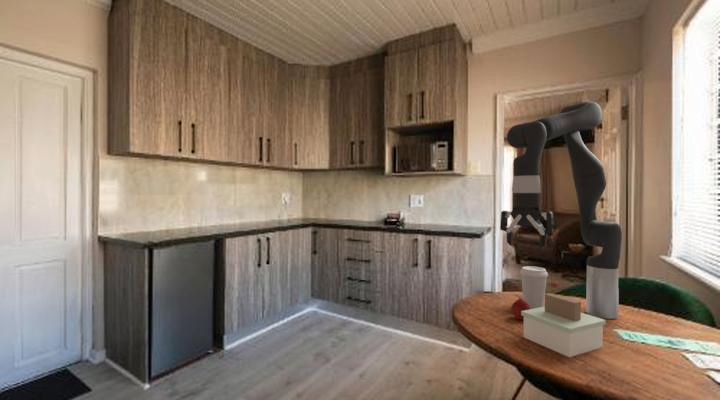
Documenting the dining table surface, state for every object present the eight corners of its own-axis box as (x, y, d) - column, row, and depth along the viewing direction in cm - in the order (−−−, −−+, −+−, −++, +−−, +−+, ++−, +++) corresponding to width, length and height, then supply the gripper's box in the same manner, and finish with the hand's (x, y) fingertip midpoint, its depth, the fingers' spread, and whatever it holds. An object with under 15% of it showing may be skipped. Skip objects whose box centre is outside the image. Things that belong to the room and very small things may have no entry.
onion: (532, 324, 114) (532, 300, 114) (513, 323, 116) (514, 299, 115) (527, 318, 120) (527, 295, 120) (509, 316, 121) (510, 294, 121)
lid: (554, 311, 109) (555, 288, 109) (605, 328, 96) (606, 302, 96) (521, 318, 103) (521, 294, 103) (570, 337, 89) (570, 309, 89)
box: (555, 331, 109) (555, 308, 109) (602, 349, 96) (602, 324, 96) (523, 339, 103) (523, 315, 103) (569, 359, 90) (569, 332, 90)
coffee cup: (553, 312, 126) (553, 271, 125) (526, 312, 126) (526, 271, 126) (539, 304, 135) (540, 265, 135) (515, 304, 135) (515, 265, 135)
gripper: (556, 191, 100) (556, 247, 101) (506, 191, 110) (506, 243, 110) (549, 191, 95) (549, 250, 95) (497, 191, 104) (497, 245, 105)
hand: (526, 246), depth 103 cm, fingers open, 8 cm apart
